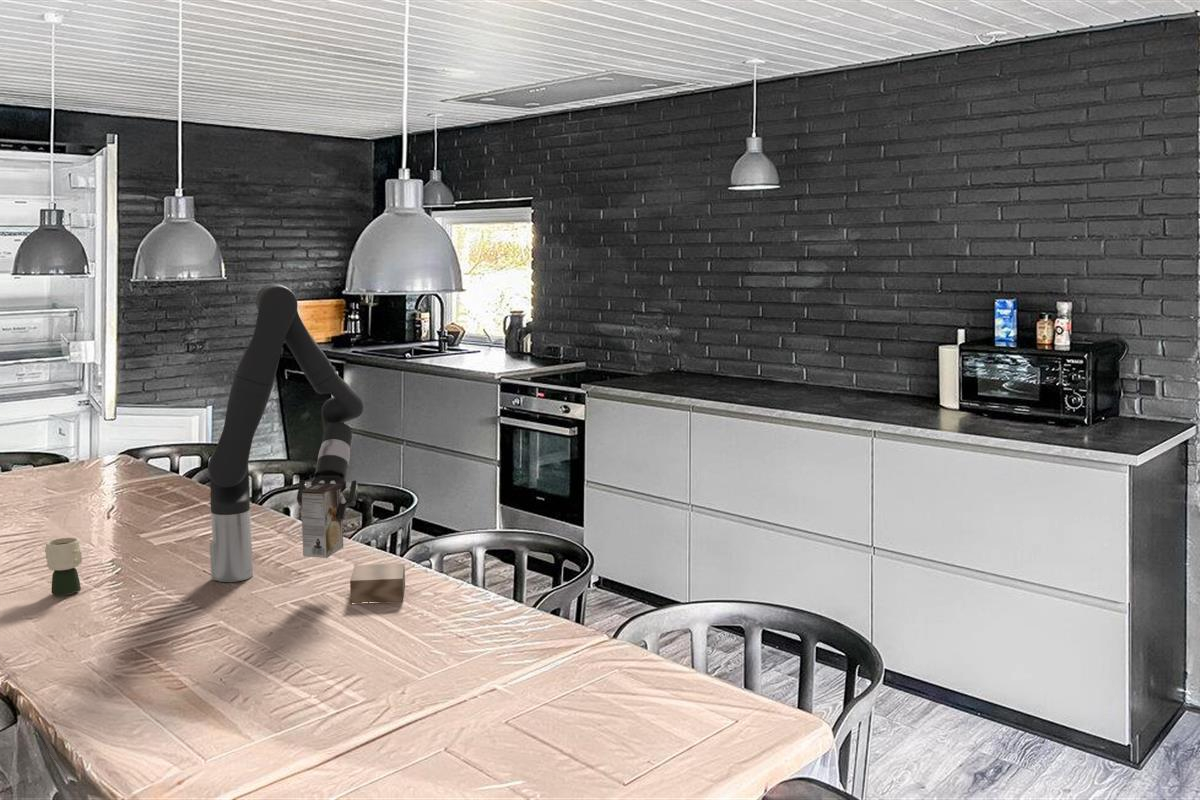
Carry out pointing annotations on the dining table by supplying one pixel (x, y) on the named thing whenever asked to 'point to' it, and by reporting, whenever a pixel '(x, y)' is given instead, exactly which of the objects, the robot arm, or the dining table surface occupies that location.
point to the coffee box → (321, 520)
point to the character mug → (64, 564)
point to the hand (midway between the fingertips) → (322, 519)
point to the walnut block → (378, 583)
